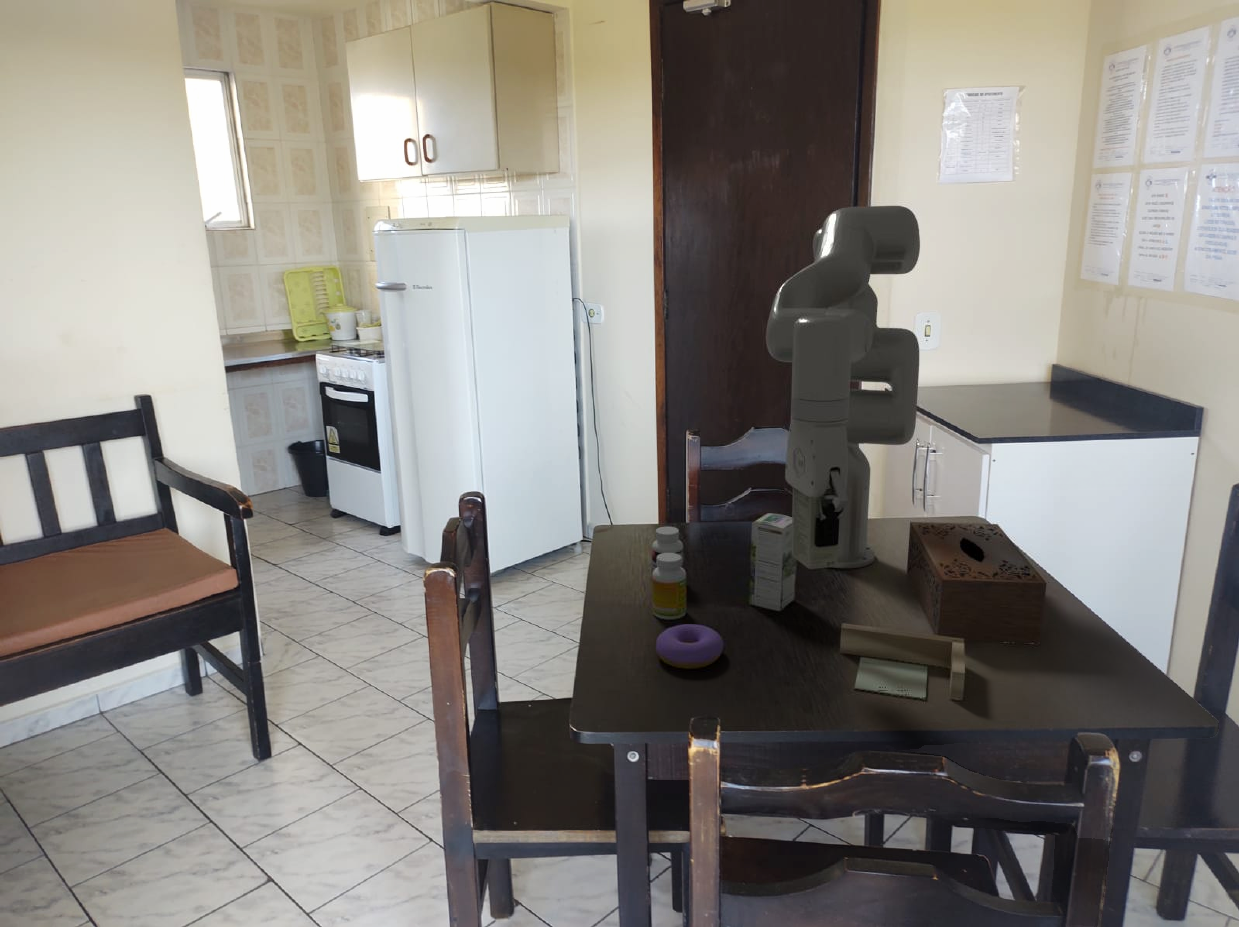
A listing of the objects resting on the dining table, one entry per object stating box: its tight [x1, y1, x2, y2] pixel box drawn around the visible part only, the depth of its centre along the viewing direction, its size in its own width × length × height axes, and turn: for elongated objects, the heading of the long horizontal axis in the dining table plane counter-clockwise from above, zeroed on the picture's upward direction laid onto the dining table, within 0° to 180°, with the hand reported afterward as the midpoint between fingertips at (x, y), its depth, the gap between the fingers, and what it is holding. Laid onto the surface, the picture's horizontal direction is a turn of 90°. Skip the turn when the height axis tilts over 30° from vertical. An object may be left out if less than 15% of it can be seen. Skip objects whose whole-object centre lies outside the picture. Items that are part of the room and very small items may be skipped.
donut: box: [655, 623, 724, 670], centre depth 127 cm, size 10×9×5 cm
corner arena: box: [839, 622, 966, 700], centre depth 120 cm, size 12×16×4 cm
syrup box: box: [748, 512, 798, 612], centre depth 142 cm, size 6×6×14 cm
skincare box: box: [791, 487, 838, 570], centre depth 120 cm, size 6×4×12 cm
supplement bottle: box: [651, 553, 687, 621], centre depth 140 cm, size 5×5×10 cm
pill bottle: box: [651, 526, 684, 576], centre depth 152 cm, size 5×5×10 cm
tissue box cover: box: [906, 521, 1047, 645], centre depth 140 cm, size 26×14×10 cm, turn 172°
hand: (815, 535), depth 121 cm, fingers closed on skincare box, 6 cm apart
